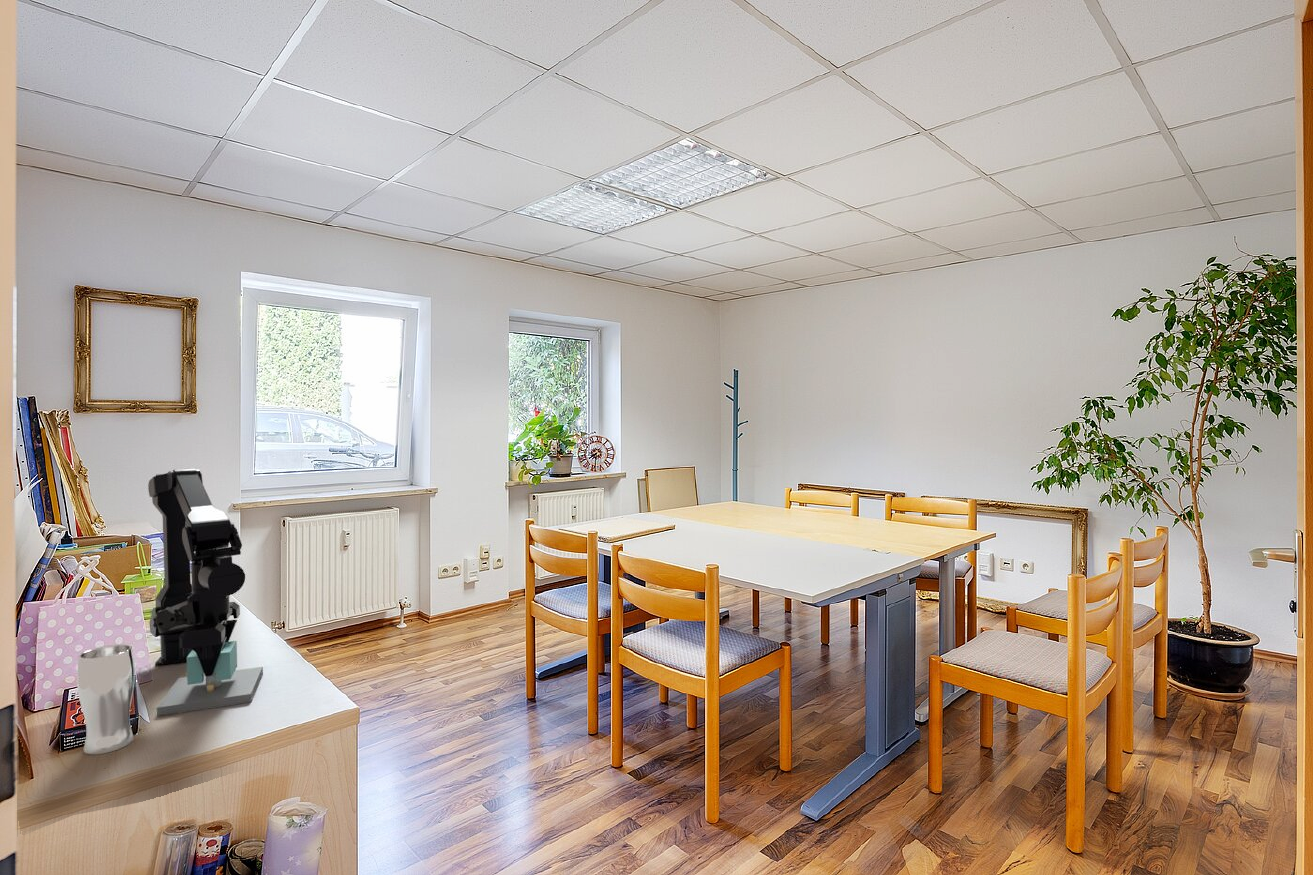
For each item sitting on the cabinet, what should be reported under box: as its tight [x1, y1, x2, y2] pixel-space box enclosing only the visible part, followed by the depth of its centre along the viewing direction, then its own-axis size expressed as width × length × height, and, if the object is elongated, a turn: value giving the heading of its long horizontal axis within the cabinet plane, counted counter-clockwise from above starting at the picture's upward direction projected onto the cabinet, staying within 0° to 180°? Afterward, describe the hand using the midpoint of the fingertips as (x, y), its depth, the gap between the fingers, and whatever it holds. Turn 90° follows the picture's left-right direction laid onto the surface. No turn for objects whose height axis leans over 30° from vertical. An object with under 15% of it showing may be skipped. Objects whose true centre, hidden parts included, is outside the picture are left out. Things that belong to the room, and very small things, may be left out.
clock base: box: [156, 666, 264, 717], centre depth 123 cm, size 14×14×6 cm
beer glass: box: [76, 643, 136, 756], centre depth 104 cm, size 7×7×15 cm
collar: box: [186, 640, 238, 685], centre depth 123 cm, size 7×7×5 cm
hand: (213, 668), depth 123 cm, fingers closed on collar, 7 cm apart
